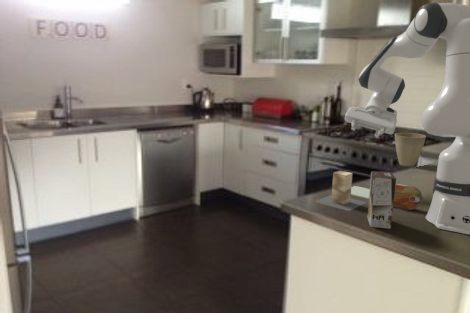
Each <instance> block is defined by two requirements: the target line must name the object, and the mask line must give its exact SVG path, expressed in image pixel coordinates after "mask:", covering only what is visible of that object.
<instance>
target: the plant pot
mask: <svg viewBox="0 0 470 313" xmlns="http://www.w3.org/2000/svg"><path fill="white" fill-rule="evenodd" d="M426 138H427V137H426V135H425V134H420V133H416V132H415V133H412V132H396V133H394V144H395V152H396V155H397V160H398V163H399V165H400V166H404V167H415V166H416V164H417V162H418V160H419V157H420V155H421V154H422V152H423V148H424V144H425V141H426Z"/></svg>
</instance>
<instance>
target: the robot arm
mask: <svg viewBox="0 0 470 313" xmlns="http://www.w3.org/2000/svg"><path fill="white" fill-rule="evenodd" d="M439 39H444V40H445V42H446V51H445V70H444V78H443V84H442V87H441V90H440V91H439V93H438V94H437V96H436V98H435V99H434V100H433V101H432V102H431V103H429V104H428V105H427V106H426V107H425V108H424V110H423V112H422V114H421V124H422V125H421V126H422V128H423V129H424V131H425V132H426V133H427V134H429V135H432V136H436V137H437V136H438V137H441V138H455V139H454V140H453V142H452V144H450V145H449V146H448V147H446V148H445V149H443V150H442V151H441V152H440V154H439V156H438V160H437V168H436V176H435V177H434V180H433V184H432V185H433V187H432V194H433V195H432V200H431V203H430V206H429V209H428V210H427V213H426V215H425V220H427V221H428V222H429V223H430V224H433V225H434V226H435V227H436V228H437V229H441V230H444V231H449V232H455V233H460V234H464V235H469V236H470V5H468V4H462V3H455V2H438V3H437V2H430V3H425V4H423V5H422V6H420V7H419V8H418V10H417V11H416V14H415V15H414V18H413V19H412V21H411V22H410V23H409V25H408V27H407V29H406V30H405V31H404V32H402V34H400V35H396V36H393V37H391V38H390V39H389V40H388V41H387V42H386V43H385V44H384V45H383V46H382V47H381V48H380V50H379V51H378V52H377V53H376V54H375V56H374V57H373V58H372V60H371V61H370V62H369V63H368V64H367V65H366V66H365V67H364V68H363V69H362V70H361V72H360V73H359V76H358V79H357V80H358V82H359V84H360V86H361V87H362V88H364V89H367V90H370V91H372V92H373V93H372V94H371V96H370V98H369V100H368V101H367V103H366V105H365V107H360V106H357V105H354V106H349V108H348V110H347V111H346V112H345V115H344V121H345V122H346V123H349V124H351V128H350V130H351V131H356V129H357V126H359V127H363V128H367V129H370V130H373V131H375V133H374V137H375V138H379V137H380V136H381V135H383V134H387V135H394V134H395V130H396V128H397V127H396V126H397V121H398V120H397V119H398V118H397V117H398V111H397V110H396V109H393V108H392V107H391V105H392V104H395V103H398V101H399V99H401V96H402V94H403V92H404V90H405V87H406V83H405V80H404V78H403V77H401V76H400V75H398V74H395V73H393V72H390V71H388V70H386V69H384V68H382V67H381V66H382V64H384V63H385V61H386V60H388V59H389V58H392V57H401V58H407V59H417V58H420V57H423V56H426V54H429V52H430V51H431V50H432V48H433V47H434V45H435V44H436V43H437V41H438V40H439Z"/></svg>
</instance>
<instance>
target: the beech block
mask: <svg viewBox="0 0 470 313" xmlns="http://www.w3.org/2000/svg"><path fill="white" fill-rule="evenodd" d="M331 184H332V185H331V195H332V198H331V202H334V203H338V204H341V205H345V204H347V203H349V202H350V198H352V197H351V196H352V195H351V187H353V186H352V184H353V172H348V171H342V170H338V171H334V172H333V173H332V183H331Z"/></svg>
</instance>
